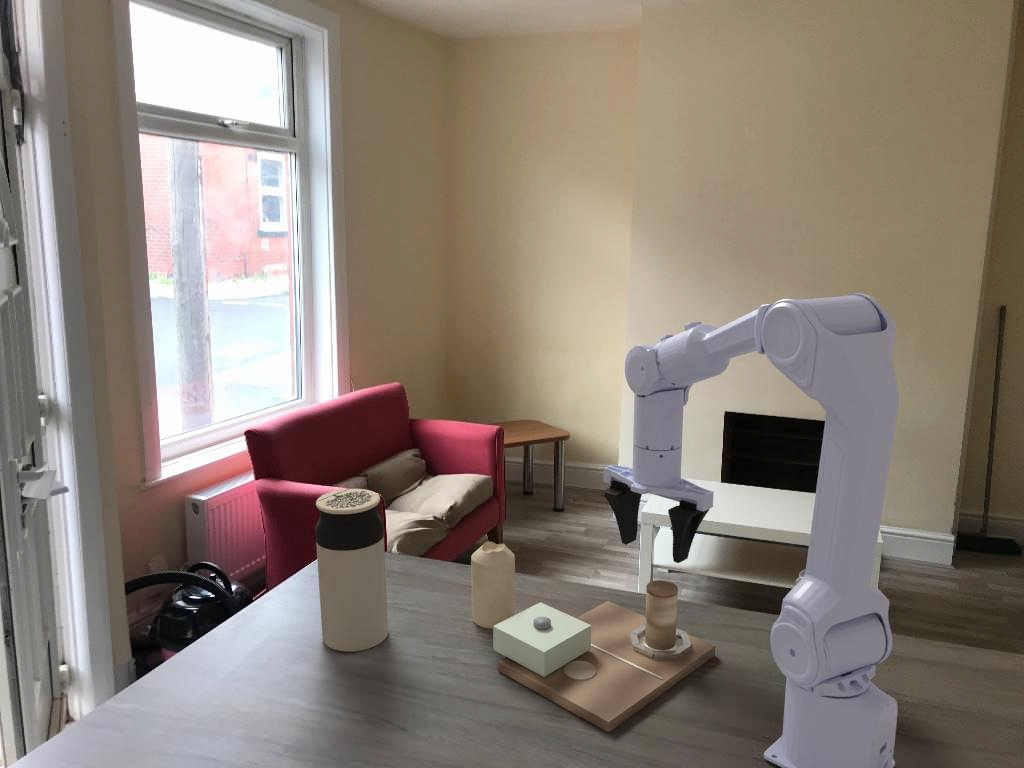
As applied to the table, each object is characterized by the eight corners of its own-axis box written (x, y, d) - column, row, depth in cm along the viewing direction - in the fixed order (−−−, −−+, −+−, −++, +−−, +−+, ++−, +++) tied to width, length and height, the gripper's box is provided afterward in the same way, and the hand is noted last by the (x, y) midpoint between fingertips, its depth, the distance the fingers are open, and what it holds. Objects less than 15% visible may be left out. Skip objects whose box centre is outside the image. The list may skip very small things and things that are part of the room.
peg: (681, 641, 97) (684, 587, 95) (664, 653, 94) (666, 597, 93) (656, 631, 99) (658, 577, 98) (638, 642, 97) (640, 587, 95)
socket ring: (700, 642, 97) (701, 638, 97) (667, 665, 92) (667, 661, 92) (653, 622, 101) (653, 618, 101) (619, 643, 97) (619, 639, 97)
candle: (466, 613, 107) (464, 541, 105) (504, 604, 109) (503, 534, 107) (482, 633, 102) (481, 558, 100) (522, 623, 104) (521, 550, 102)
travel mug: (401, 635, 101) (395, 498, 97) (348, 661, 96) (339, 516, 92) (362, 614, 107) (355, 482, 103) (309, 637, 101) (300, 499, 97)
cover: (590, 648, 95) (591, 620, 94) (544, 676, 90) (544, 647, 89) (540, 624, 101) (540, 597, 100) (493, 649, 95) (493, 621, 94)
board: (715, 655, 96) (715, 644, 96) (608, 732, 83) (608, 720, 82) (607, 609, 107) (607, 599, 107) (497, 670, 94) (497, 659, 93)
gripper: (588, 438, 100) (587, 543, 103) (691, 464, 90) (686, 579, 93) (624, 427, 104) (621, 527, 107) (725, 450, 94) (719, 560, 97)
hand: (654, 550), depth 100 cm, fingers open, 7 cm apart
